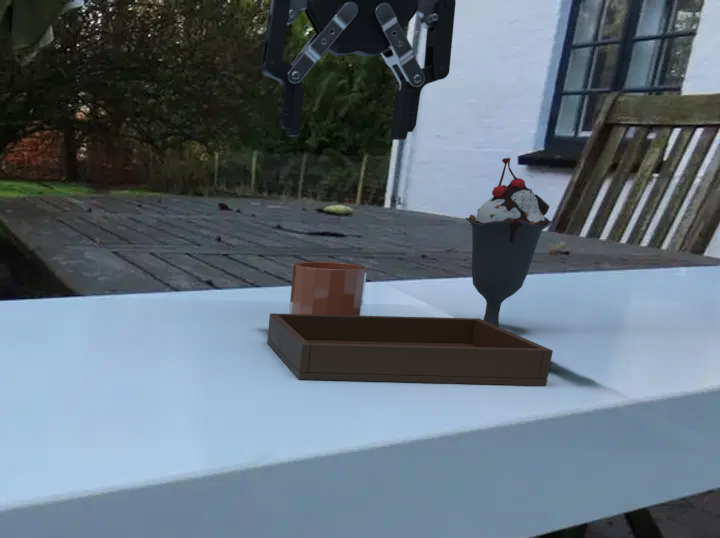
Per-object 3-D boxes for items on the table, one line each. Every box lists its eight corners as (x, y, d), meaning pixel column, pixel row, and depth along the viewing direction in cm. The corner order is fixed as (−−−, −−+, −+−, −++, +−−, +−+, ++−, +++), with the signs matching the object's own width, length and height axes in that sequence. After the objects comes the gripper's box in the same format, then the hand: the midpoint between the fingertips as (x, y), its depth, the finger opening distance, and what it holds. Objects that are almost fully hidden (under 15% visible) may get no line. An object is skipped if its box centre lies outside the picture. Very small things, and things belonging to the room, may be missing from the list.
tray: (474, 348, 77) (479, 318, 76) (546, 385, 64) (553, 350, 63) (267, 343, 77) (269, 313, 76) (298, 379, 65) (302, 344, 64)
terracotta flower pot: (348, 329, 84) (356, 262, 82) (366, 342, 78) (375, 270, 76) (282, 328, 84) (288, 260, 82) (295, 340, 78) (302, 268, 76)
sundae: (449, 345, 78) (479, 156, 73) (444, 331, 84) (471, 156, 79) (534, 351, 76) (571, 158, 71) (523, 337, 82) (556, 158, 77)
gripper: (286, -109, 66) (265, 134, 71) (487, -104, 65) (450, 140, 71) (268, -84, 73) (249, 136, 78) (449, -79, 73) (418, 141, 78)
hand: (345, 137), depth 74 cm, fingers open, 8 cm apart
